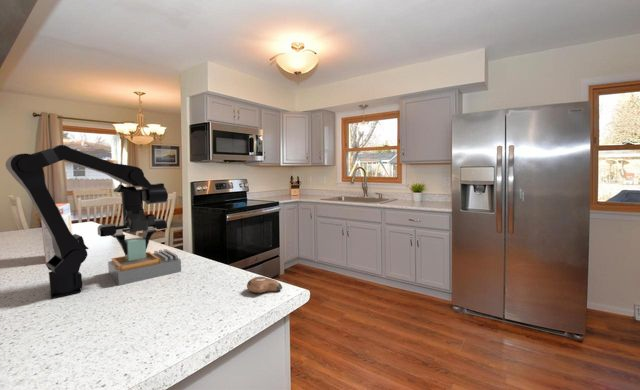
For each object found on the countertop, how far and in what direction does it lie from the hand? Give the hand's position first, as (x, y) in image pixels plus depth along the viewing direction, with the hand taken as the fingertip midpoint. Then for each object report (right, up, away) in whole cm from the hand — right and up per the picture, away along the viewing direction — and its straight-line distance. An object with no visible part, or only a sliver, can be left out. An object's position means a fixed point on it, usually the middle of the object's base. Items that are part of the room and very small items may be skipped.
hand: (135, 253), depth 102 cm
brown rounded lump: (+44, -8, -14) cm, 47 cm away
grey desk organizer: (+2, -7, +2) cm, 8 cm away
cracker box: (-42, -6, +20) cm, 47 cm away
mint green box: (-1, -1, +1) cm, 2 cm away
